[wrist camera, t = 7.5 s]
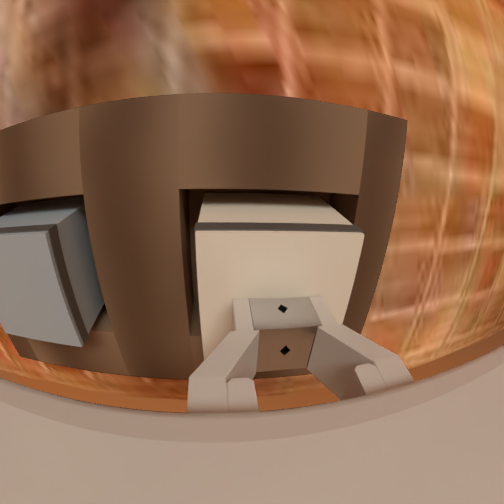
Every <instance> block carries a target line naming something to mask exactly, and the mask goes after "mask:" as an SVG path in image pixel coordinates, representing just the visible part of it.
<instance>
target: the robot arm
mask: <svg viewBox="0 0 504 504" xmlns="http://www.w3.org/2000/svg"><path fill="white" fill-rule="evenodd" d="M299 368H307V370H308V371H310V372H311V373H312V374H313V375H314V376H315V377H316V378H317V379H318V380H319V381H321V382H322V383H323V384H324V385H325V386H326V387H327V388H328V389H330V390H331V391H332V392H333V393H334V394H335V395H336V396H337V397H339V398H340V401H335V402H330V403H324V404H318V405H311V406H305V407H297V408H289V409H281V410H271V411H259V408H258V402H257V396H256V390H255V384H254V381H253V378H254V376H255V374H256V372H264V371H274V370H285V369H299ZM0 504H504V345H502V346H500V347H498V348H496V349H494V350H492V351H490V352H488V353H486V354H483V355H481V356H479V357H477V358H475V359H473V360H470V361H468V362H466V363H463V364H461V365H458V366H456V367H453V368H451V369H448V370H446V371H443V372H441V373H438V374H435V375H432V376H430V377H427V378H424V379H421V380H418V381H414V380H413V378H412V377H411V375H410V373H409V372H408V370H407V369H406V367H405V365H404V364H403V362H402V361H401V359H400V358H399V356H398V355H396V354H394V353H392V352H390V351H389V350H387V349H385V348H383V347H382V346H380V345H378V344H376V343H374V342H373V341H371V340H369V339H367V338H366V337H364V336H362V335H360V334H359V333H357V332H355V331H353V330H352V329H350V328H348V327H346V326H345V325H343V324H338V323H337V321H336V320H335V318H334V316H333V314H332V312H331V311H330V309H329V307H328V305H327V303H326V302H325V300H324V298H323V296H321V295H317V296H306V297H293V298H232V331H230V332H229V333H228V334H227V336H226V337H225V338H224V339H223V340H222V341H221V342H220V344H219V345H218V346H217V347H216V348H215V349H214V350H213V351H212V352H211V354H210V355H209V356H208V357H207V358H206V359H205V360H204V361H203V362H202V364H201V365H200V366H199V367H198V368H197V369H196V370H195V371H194V372H193V373H192V375H191V376H190V377H189V385H188V402H187V413H178V412H160V411H148V410H138V409H129V408H122V407H114V406H108V405H101V404H96V403H90V402H85V401H80V400H75V399H71V398H66V397H62V396H58V395H54V394H50V393H46V392H43V391H39V390H36V389H32V388H29V387H26V386H23V385H20V384H17V383H14V382H11V381H8V380H5V379H3V378H0Z"/></svg>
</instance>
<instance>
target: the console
mask: <svg viewBox="0 0 504 504" xmlns="http://www.w3.org/2000/svg"><path fill="white" fill-rule="evenodd" d="M406 131H407V120H404V119H401V118H397V117H393V116H390V115H386V114H382V113H378V112H374V111H369V110H365V109H360V108H356V107H351V106H346V105H340V104H335V103H329V102H322V101H316V100H309V99H301V98H293V97H283V96H272V95H258V94H235V93H195V94H173V95H159V96H148V97H139V98H130V99H123V100H116V101H110V102H104V103H98V104H93V105H87V106H83V107H78V108H73V109H69V110H65V111H61V112H57V113H53V114H49V115H46V116H42V117H39V118H35V119H32V120H29V121H26V122H23V123H20V124H17V125H14V126H11V127H8V128H5V129H3V130H0V217H1V216H2V215H4V214H6V213H7V212H9V211H11V210H12V209H14V208H16V207H18V206H19V205H21V204H23V203H28V202H36V201H45V200H54V199H64V198H74V197H84V204H85V211H86V218H87V224H88V230H89V236H90V242H91V247H92V252H93V257H94V262H95V266H96V271H97V275H98V279H99V283H100V287H101V291H102V295H103V298H104V302H105V303H104V305H103V307H102V308H101V310H100V312H99V314H98V316H97V318H96V320H95V322H94V324H93V326H92V328H91V330H90V332H89V334H88V335H89V337H88V340H87V342H86V344H85V345H83V347H77V346H70V345H64V344H58V343H52V342H46V341H41V340H36V339H31V338H26V337H21V336H17V335H12V334H8V335H9V337H10V339H11V341H12V343H13V345H14V346H15V348H16V350H17V352H18V353H19V355H20V356H21V357H25V358H29V359H33V360H37V361H41V362H46V363H50V364H55V365H60V366H65V367H70V368H76V369H82V370H88V371H94V372H101V373H109V374H117V375H126V376H136V377H148V378H163V379H185V380H189V377H190V376H191V375H192V373H193V372H194V371H195V370H196V369H197V368H198V367H199V366H200V365H201V364H202V362H203V361H204V358H203V352H202V342H201V332H200V320H199V308H198V295H197V280H196V262H195V241H194V227H195V223H196V222H198V219H199V215H200V211H201V207H202V203H203V199H204V195H205V193H266V194H294V195H314V196H319V197H320V198H321V199H323V200H324V201H325V202H326V203H328V204H329V205H330V206H331V207H333V208H334V209H335V210H336V211H337V212H339V213H340V214H341V215H342V216H343V217H344V218H346V219H347V220H348V221H349V222H350V223H352V224H353V225H357V226H358V227H359V228H360V229H361V230H363V234H364V240H363V245H362V250H361V254H360V259H359V263H358V267H357V271H356V275H355V279H354V283H353V287H352V291H351V295H350V299H349V302H348V306H347V310H346V313H345V316H344V320H343V323H342V324H343V325H345V326H346V327H348V328H350V329H352V330H353V331H355V332H357V333H359V334H361V332H362V329H363V326H364V323H365V320H366V317H367V314H368V311H369V308H370V305H371V302H372V299H373V296H374V292H375V289H376V286H377V282H378V279H379V275H380V272H381V268H382V265H383V261H384V257H385V253H386V249H387V245H388V241H389V236H390V232H391V228H392V223H393V218H394V213H395V208H396V203H397V198H398V192H399V186H400V180H401V173H402V166H403V159H404V151H405V142H406ZM306 374H312V373H311V372H310V371H308V370H307V368H299V369H285V370H274V371H264V372H256V374H255V376H254V378H253V379H259V378H274V377H286V376H297V375H306Z"/></svg>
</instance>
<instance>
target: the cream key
mask: <svg viewBox="0 0 504 504" xmlns="http://www.w3.org/2000/svg"><path fill="white" fill-rule="evenodd" d="M363 240H364V234H363V230H361V229H360V228H359V227H358V226H357V225H353V224H352V223H350V222H349V221H348V220H347V219H346V218H344V217H343V216H342V215H341V214H340V213H339V212H337V211H336V210H335V209H334V208H333V207H331V206H330V205H329V204H328V203H326V202H325V201H324V200H323V199H321V198H320V197H319V196H314V195H294V194H266V193H205V195H204V199H203V203H202V207H201V211H200V215H199V219H198V222H196V223H195V227H194V241H195V262H196V280H197V295H198V308H199V320H200V332H201V342H202V352H203V358H204V360H205V359H206V358H207V357H208V356H209V355H210V354H211V352H212V351H213V350H214V349H215V348H216V347H217V346H218V345H219V344H220V342H221V341H222V340H223V339H224V338H225V337H226V336H227V334H228V333H229V332H230V331H232V298H293V297H306V296H317V295H321V296H323V298H324V300H325V302H326V303H327V305H328V307H329V309H330V311H331V312H332V314H333V316H334V318H335V320H336V321H337V323H338V324H342V323H343V320H344V316H345V313H346V310H347V306H348V302H349V299H350V295H351V291H352V287H353V283H354V279H355V275H356V271H357V267H358V263H359V259H360V254H361V250H362V245H363Z"/></svg>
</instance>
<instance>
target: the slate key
mask: <svg viewBox="0 0 504 504" xmlns="http://www.w3.org/2000/svg"><path fill="white" fill-rule="evenodd" d="M104 303H105V302H104V298H103V295H102V291H101V287H100V283H99V279H98V275H97V271H96V266H95V262H94V257H93V252H92V247H91V242H90V236H89V230H88V224H87V218H86V211H85V204H84V197H74V198H64V199H54V200H45V201H36V202H28V203H23V204H21V205H19V206H18V207H16V208H14V209H12V210H11V211H9V212H7V213H6V214H4V215H2V216H1V217H0V323H1V325H2V327H3V329H4V331H5V333H8V334H12V335H17V336H21V337H26V338H31V339H36V340H41V341H46V342H52V343H58V344H64V345H70V346H77V347H83V345H85V344H86V342H87V340H88V337H89V335H88V334H89V332H90V330H91V328H92V326H93V324H94V322H95V320H96V318H97V316H98V314H99V312H100V310H101V308H102V307H103V305H104Z"/></svg>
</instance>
